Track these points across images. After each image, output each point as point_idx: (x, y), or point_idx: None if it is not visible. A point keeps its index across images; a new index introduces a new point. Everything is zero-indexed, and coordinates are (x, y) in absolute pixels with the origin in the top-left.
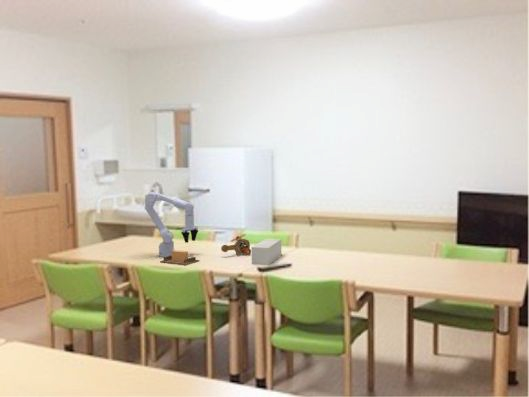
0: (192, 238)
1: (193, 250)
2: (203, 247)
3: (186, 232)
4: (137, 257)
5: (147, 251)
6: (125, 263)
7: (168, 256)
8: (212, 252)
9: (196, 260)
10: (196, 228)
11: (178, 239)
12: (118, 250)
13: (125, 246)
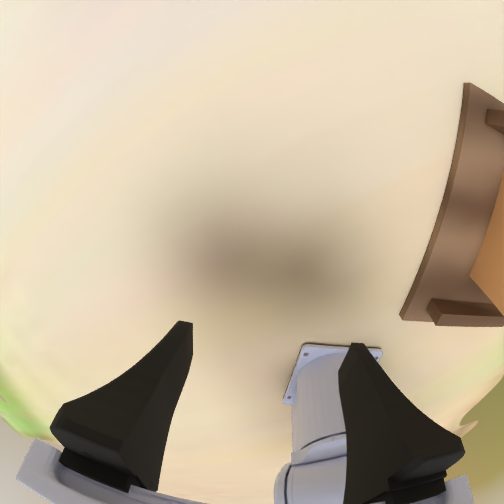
0: (184, 372)
1: (98, 314)
2: (20, 292)
3: (422, 476)
4: None
5: (242, 455)
6: (476, 403)
7: (488, 317)
8: (79, 146)
9: (487, 101)
10: (55, 467)
11: (29, 406)
12: (261, 488)
13: (199, 486)
